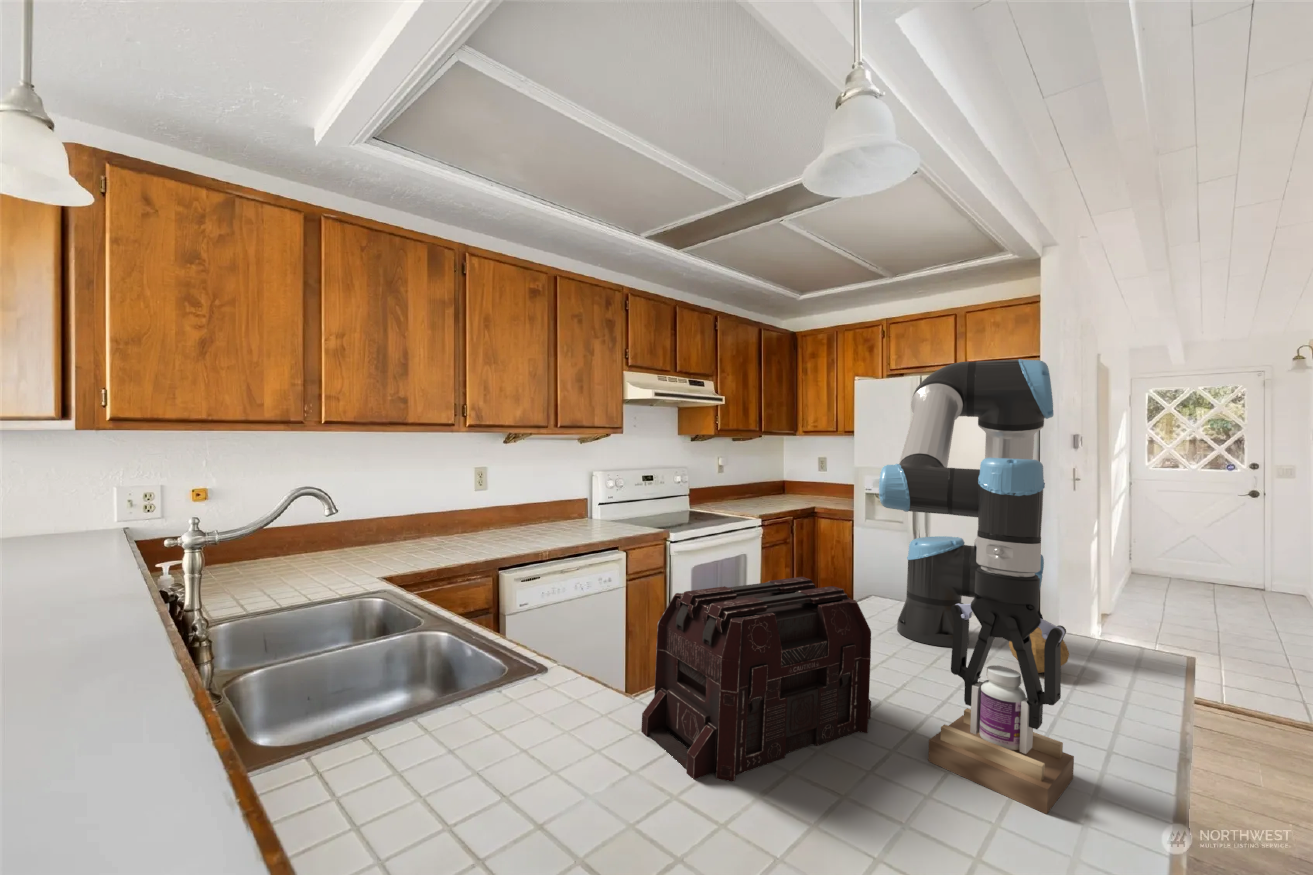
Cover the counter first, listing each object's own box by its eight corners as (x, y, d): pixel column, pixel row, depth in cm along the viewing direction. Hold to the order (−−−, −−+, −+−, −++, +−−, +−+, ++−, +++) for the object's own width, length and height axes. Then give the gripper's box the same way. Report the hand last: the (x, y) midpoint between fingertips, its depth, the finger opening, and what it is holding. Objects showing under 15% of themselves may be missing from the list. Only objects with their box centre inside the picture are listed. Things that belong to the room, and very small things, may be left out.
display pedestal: (928, 761, 78) (929, 726, 78) (962, 734, 86) (963, 703, 86) (1046, 814, 68) (1048, 774, 68) (1073, 778, 76) (1074, 742, 76)
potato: (997, 670, 113) (999, 630, 113) (1020, 655, 122) (1021, 618, 122) (1055, 687, 105) (1057, 645, 106) (1075, 670, 115) (1076, 631, 115)
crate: (706, 792, 69) (713, 623, 69) (631, 723, 85) (637, 586, 85) (885, 727, 88) (891, 593, 88) (796, 680, 104) (801, 568, 104)
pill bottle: (1024, 756, 73) (1027, 682, 73) (978, 743, 76) (980, 672, 76) (1023, 738, 78) (1026, 669, 78) (979, 726, 81) (982, 659, 81)
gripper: (927, 560, 82) (920, 720, 81) (1082, 588, 68) (1074, 782, 68) (948, 555, 87) (942, 706, 86) (1096, 580, 73) (1090, 760, 72)
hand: (1000, 739), depth 77 cm, fingers closed on pill bottle, 5 cm apart
